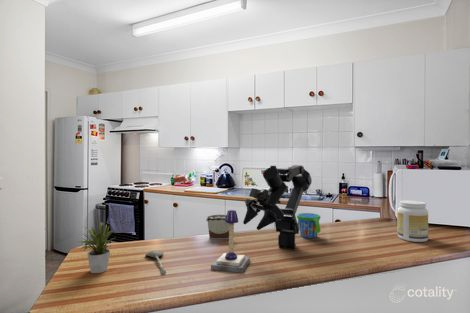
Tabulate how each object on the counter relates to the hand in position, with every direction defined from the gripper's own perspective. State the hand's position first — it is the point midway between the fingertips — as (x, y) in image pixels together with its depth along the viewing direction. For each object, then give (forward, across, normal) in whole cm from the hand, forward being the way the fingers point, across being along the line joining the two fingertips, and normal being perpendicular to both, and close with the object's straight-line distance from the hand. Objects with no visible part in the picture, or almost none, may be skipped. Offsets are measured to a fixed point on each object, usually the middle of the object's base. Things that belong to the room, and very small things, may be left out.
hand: (250, 226), depth 109 cm
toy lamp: (+13, +1, +1) cm, 13 cm away
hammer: (+31, -14, -13) cm, 36 cm away
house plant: (+44, -18, -27) cm, 55 cm away
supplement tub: (-46, +15, +65) cm, 81 cm away
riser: (+15, +1, +2) cm, 15 cm away
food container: (+7, -32, +12) cm, 35 cm away
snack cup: (-19, -12, +38) cm, 44 cm away
